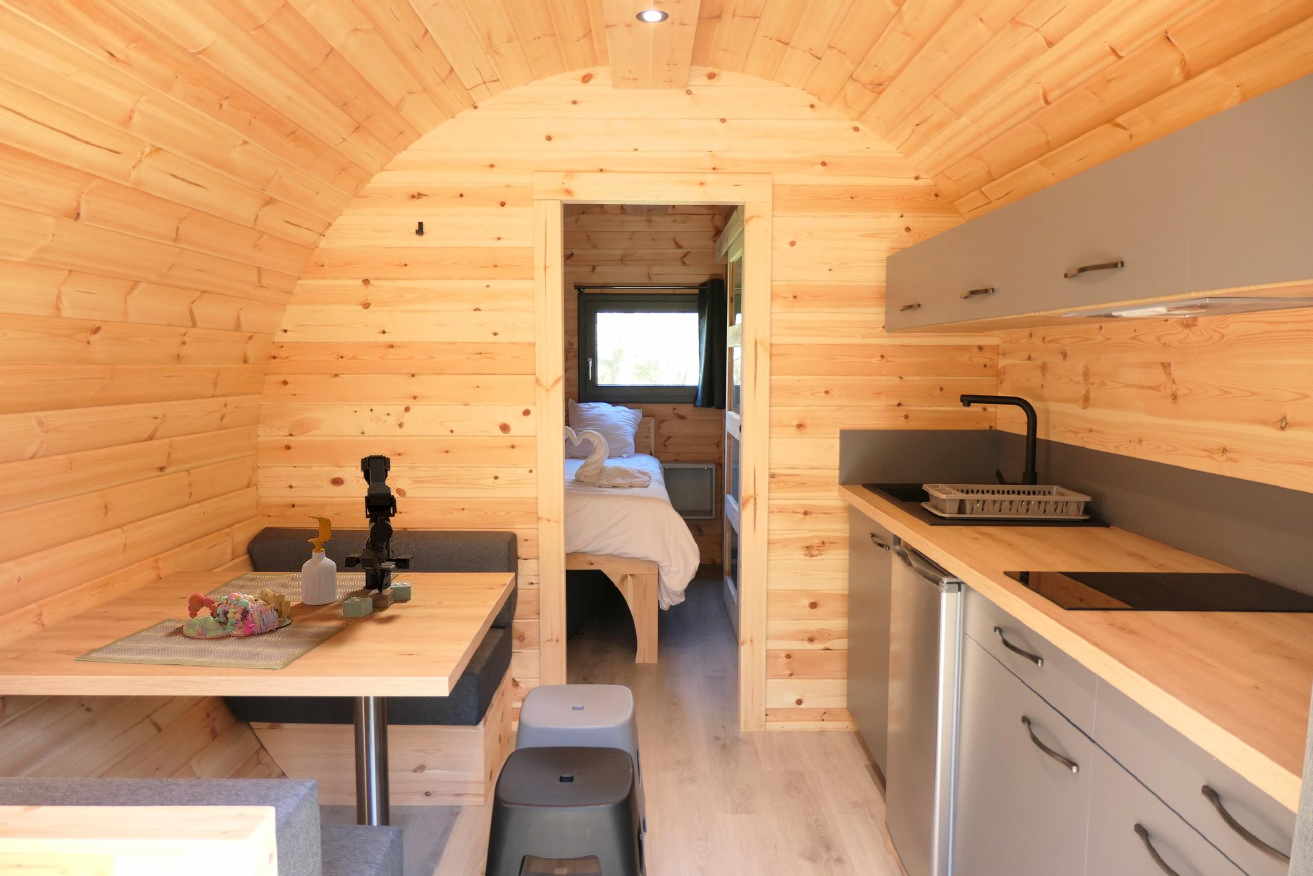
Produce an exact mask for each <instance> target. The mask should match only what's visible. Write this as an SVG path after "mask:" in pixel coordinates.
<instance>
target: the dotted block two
mask: <svg viewBox="0 0 1313 876" xmlns="http://www.w3.org/2000/svg"><path fill="white" fill-rule="evenodd" d="M389 590H394V601H406V600H407V601H408V600H411V599H412V582H411V581H403V582H402V581H401V582H399V581H398V582H391V585H390V586H389Z"/></svg>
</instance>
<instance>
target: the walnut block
mask: <svg viewBox="0 0 1313 876" xmlns="http://www.w3.org/2000/svg"><path fill="white" fill-rule="evenodd" d="M367 598H372V609H390V607H392V606H393V605H394V604H395V600H394V590H390V589H384V590H383V591H382V592H379V591H378V589H373V590H371V592H369V593H368V594H367Z"/></svg>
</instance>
